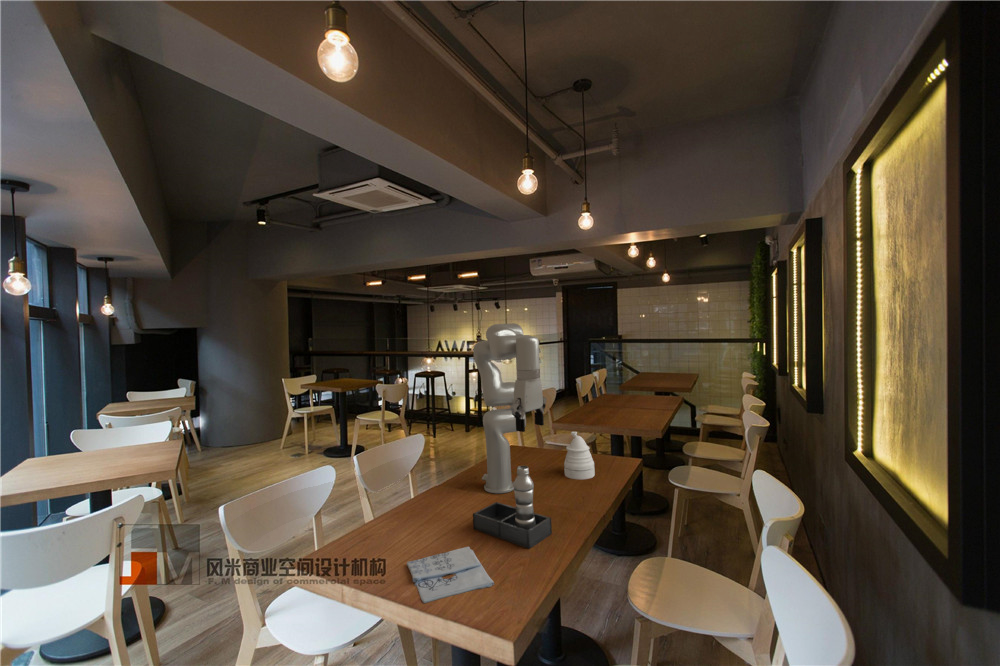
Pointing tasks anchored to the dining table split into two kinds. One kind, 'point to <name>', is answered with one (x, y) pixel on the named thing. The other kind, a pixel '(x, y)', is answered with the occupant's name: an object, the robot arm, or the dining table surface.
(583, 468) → the honey pot
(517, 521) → the grey stacked bottle
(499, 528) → the divided tray
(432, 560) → the folded bicycle print cloth
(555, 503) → the dining table surface
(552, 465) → the dining table surface
